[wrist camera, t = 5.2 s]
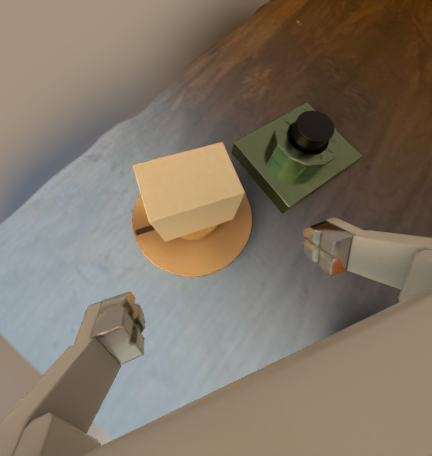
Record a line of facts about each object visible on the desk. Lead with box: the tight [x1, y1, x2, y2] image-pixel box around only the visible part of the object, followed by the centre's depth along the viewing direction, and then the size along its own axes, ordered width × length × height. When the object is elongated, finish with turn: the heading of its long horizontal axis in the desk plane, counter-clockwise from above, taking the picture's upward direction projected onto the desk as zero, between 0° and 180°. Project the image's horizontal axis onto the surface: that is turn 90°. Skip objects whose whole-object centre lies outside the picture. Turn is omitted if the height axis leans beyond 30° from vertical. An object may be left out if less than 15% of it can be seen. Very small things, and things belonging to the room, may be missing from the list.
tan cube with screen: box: [133, 142, 245, 242], centre depth 15 cm, size 5×6×6 cm
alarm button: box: [289, 111, 335, 154], centre depth 18 cm, size 4×4×2 cm
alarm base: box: [232, 103, 362, 213], centre depth 20 cm, size 11×9×4 cm
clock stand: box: [132, 193, 252, 277], centre depth 18 cm, size 11×11×2 cm
